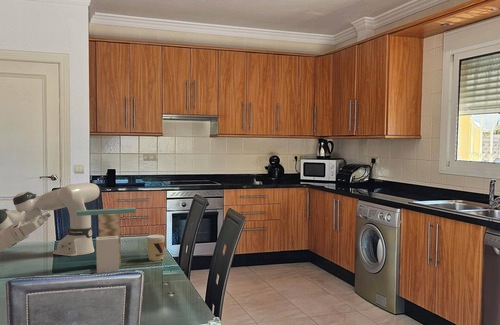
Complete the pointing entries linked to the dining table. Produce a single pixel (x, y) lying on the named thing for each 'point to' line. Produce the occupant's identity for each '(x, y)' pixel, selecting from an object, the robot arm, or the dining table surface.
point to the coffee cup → (155, 247)
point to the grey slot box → (107, 253)
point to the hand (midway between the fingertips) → (48, 215)
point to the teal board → (106, 211)
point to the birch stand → (110, 227)
